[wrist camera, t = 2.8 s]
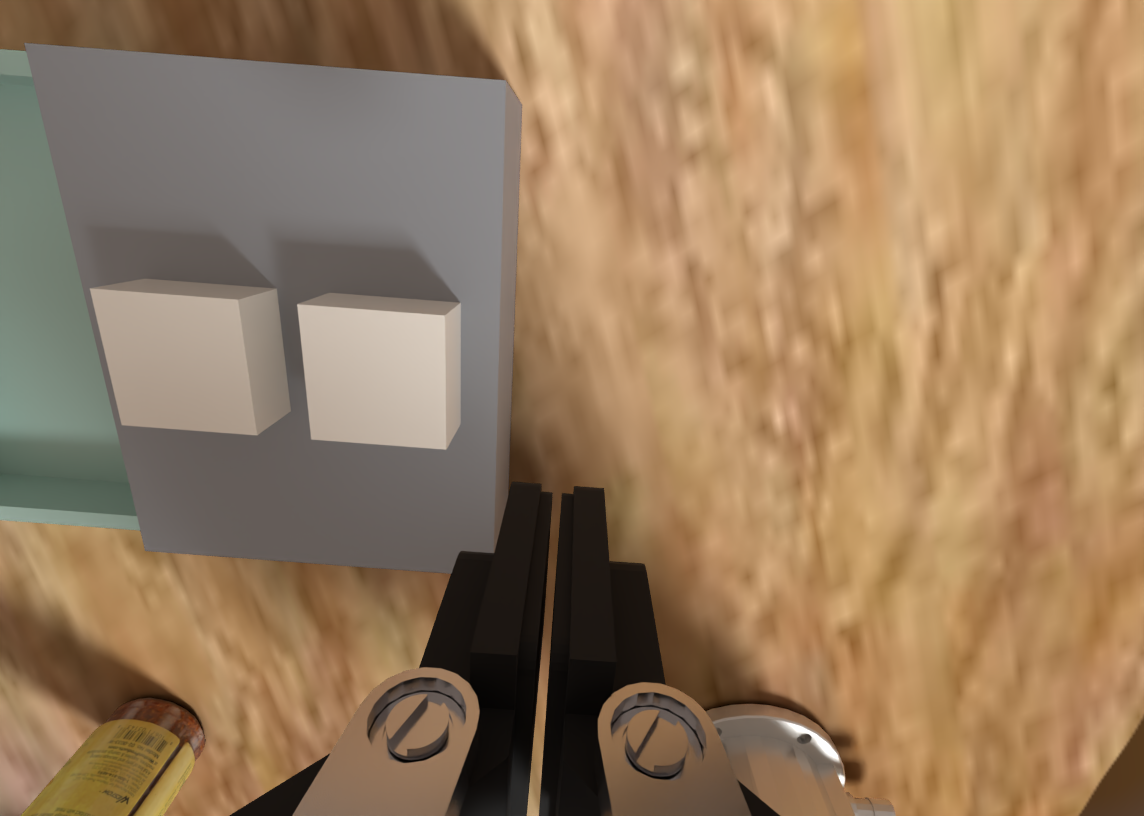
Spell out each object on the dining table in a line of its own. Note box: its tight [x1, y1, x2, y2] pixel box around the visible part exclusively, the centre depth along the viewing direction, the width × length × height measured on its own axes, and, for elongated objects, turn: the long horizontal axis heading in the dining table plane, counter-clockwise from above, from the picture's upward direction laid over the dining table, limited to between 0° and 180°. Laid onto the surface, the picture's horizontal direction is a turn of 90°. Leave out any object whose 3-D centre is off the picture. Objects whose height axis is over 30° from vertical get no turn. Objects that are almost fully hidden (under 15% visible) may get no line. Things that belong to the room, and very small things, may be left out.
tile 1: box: [90, 279, 291, 435], centre depth 21 cm, size 5×5×2 cm
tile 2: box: [297, 293, 461, 450], centre depth 21 cm, size 5×5×2 cm
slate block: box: [24, 43, 522, 574], centre depth 24 cm, size 16×20×5 cm
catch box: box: [0, 49, 140, 530], centre depth 25 cm, size 12×20×4 cm, turn 176°
